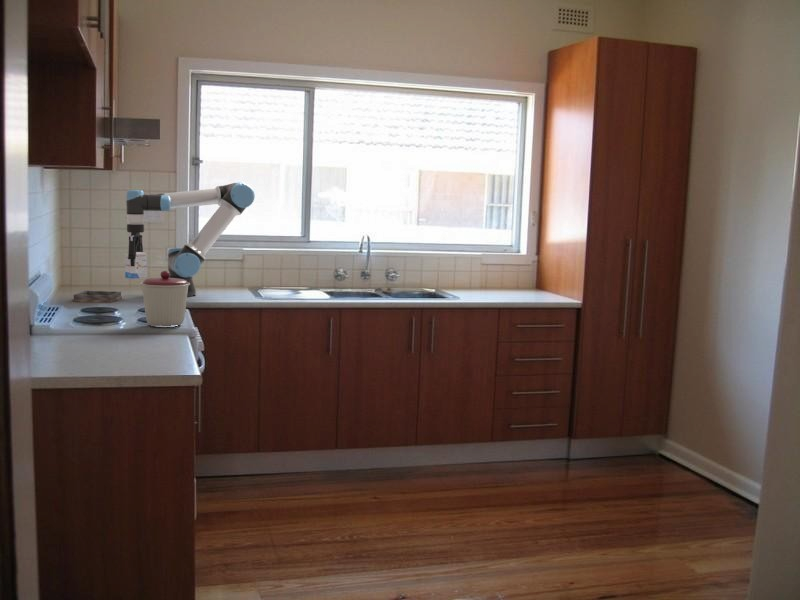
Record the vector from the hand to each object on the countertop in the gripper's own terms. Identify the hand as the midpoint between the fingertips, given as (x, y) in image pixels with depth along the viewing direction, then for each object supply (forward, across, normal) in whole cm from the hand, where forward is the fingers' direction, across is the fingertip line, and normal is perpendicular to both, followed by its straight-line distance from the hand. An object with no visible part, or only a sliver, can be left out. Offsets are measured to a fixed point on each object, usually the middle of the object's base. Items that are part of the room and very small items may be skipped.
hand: (136, 272), depth 385 cm
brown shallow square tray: (+13, +4, -16) cm, 21 cm away
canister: (+13, +73, +31) cm, 80 cm away
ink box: (+3, 0, 0) cm, 3 cm away
